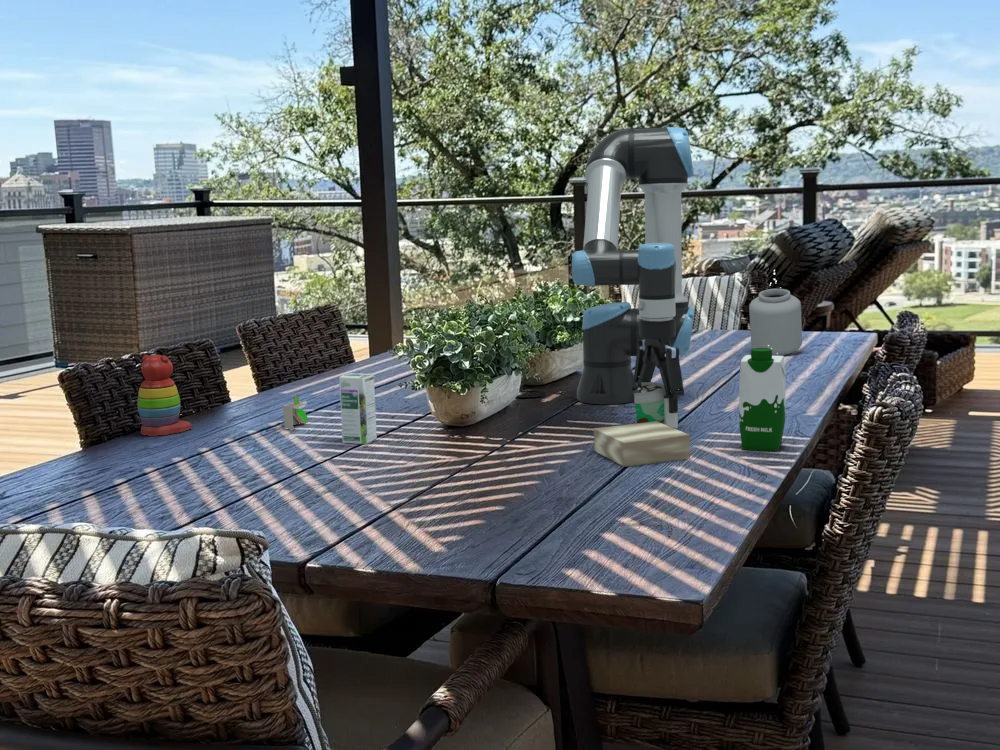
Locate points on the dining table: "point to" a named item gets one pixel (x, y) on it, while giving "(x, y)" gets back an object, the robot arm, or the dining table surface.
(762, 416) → the milk carton
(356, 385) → the syrup box
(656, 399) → the food container
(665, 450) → the birch riser block
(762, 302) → the jar
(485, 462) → the dining table surface
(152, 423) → the stacking bear
